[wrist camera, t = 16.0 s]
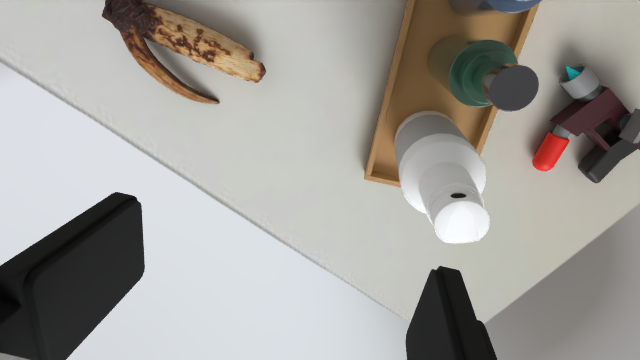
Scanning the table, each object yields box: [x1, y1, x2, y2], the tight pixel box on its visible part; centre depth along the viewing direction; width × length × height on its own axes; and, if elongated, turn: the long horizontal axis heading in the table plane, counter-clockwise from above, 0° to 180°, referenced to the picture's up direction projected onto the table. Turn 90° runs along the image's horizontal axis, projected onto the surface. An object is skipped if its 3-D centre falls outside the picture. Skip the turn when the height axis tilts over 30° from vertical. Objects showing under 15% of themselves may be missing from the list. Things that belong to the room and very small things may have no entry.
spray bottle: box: [394, 111, 490, 243], centre depth 31 cm, size 7×7×18 cm
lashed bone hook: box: [102, 0, 266, 104], centre depth 37 cm, size 9×5×18 cm
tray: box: [364, 0, 539, 187], centre depth 35 cm, size 24×11×2 cm, turn 170°
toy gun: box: [532, 64, 640, 183], centre depth 34 cm, size 10×12×5 cm
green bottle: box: [427, 35, 539, 112], centre depth 27 cm, size 5×5×18 cm
